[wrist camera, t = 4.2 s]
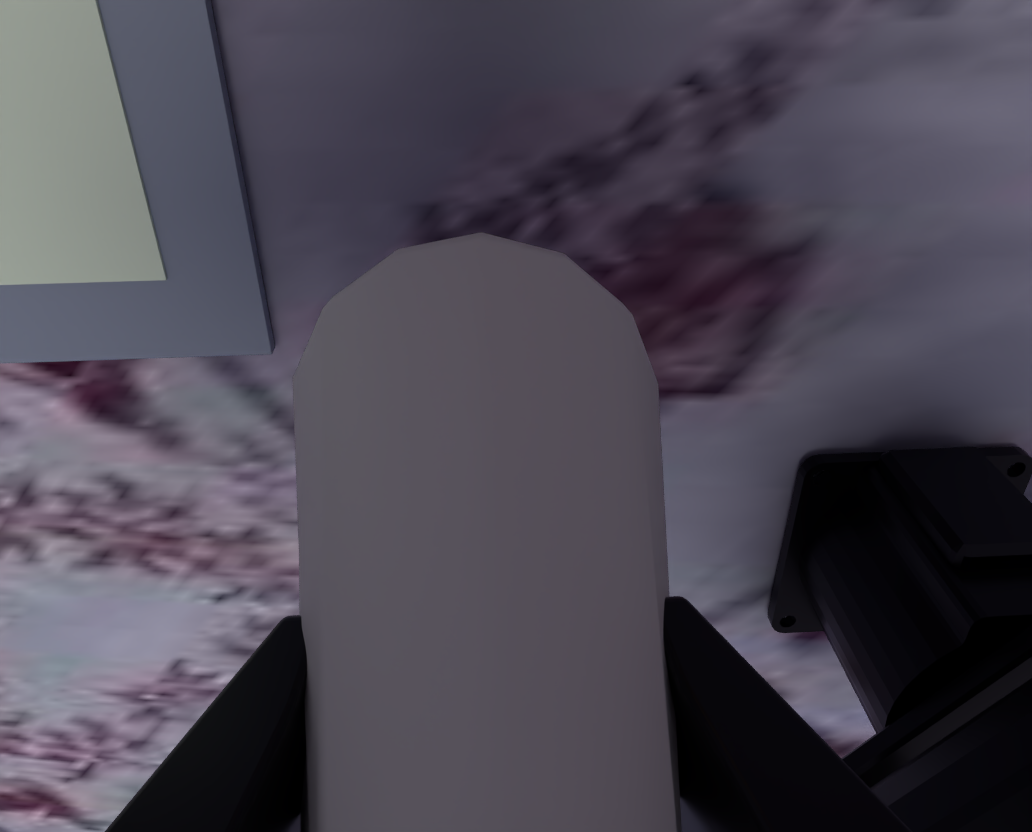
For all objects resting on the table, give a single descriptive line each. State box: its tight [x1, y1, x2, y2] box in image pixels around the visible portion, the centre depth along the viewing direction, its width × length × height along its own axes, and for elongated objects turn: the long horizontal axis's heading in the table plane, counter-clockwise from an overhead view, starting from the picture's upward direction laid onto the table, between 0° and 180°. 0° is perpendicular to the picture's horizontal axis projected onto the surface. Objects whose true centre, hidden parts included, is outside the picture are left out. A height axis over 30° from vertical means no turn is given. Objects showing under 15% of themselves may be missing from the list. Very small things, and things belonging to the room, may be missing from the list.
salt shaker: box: [293, 232, 682, 832], centre depth 9 cm, size 6×6×13 cm
